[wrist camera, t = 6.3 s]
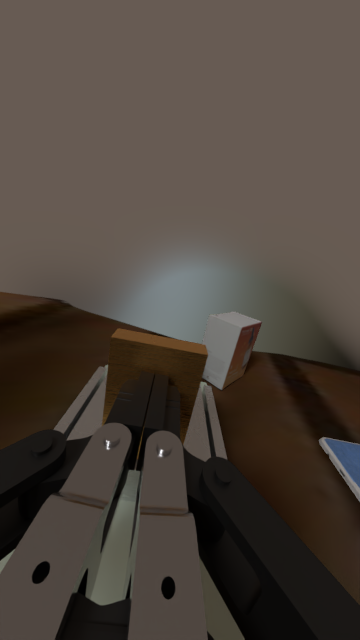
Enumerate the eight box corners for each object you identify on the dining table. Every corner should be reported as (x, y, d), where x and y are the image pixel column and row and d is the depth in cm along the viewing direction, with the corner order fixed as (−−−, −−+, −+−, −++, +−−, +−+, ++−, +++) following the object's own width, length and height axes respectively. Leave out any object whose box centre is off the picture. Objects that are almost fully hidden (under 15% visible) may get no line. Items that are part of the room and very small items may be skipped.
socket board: (245, 671, 10) (306, 591, 7) (-60, 641, 9) (-99, 541, 7) (203, 394, 29) (216, 347, 26) (105, 377, 28) (110, 327, 26)
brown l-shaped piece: (177, 467, 13) (208, 355, 10) (98, 455, 12) (110, 336, 10) (179, 361, 25) (193, 299, 23) (140, 354, 25) (150, 290, 23)
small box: (221, 391, 30) (241, 327, 27) (193, 372, 33) (208, 313, 30) (244, 375, 36) (263, 321, 33) (218, 360, 39) (233, 310, 36)
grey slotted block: (220, 514, 14) (232, 484, 13) (36, 487, 13) (35, 454, 12) (204, 407, 23) (211, 386, 22) (97, 389, 22) (99, 366, 22)
